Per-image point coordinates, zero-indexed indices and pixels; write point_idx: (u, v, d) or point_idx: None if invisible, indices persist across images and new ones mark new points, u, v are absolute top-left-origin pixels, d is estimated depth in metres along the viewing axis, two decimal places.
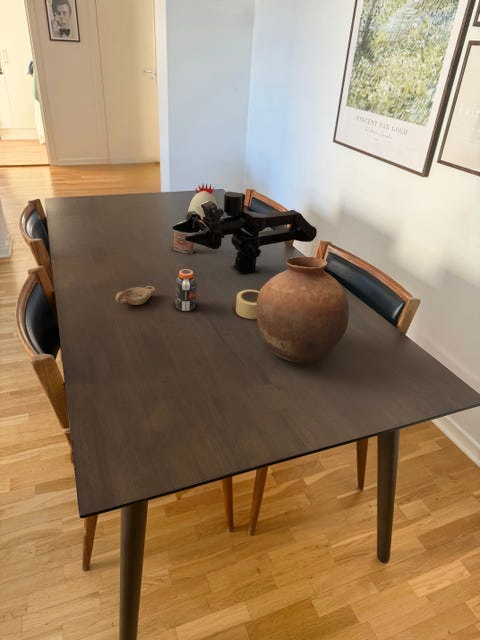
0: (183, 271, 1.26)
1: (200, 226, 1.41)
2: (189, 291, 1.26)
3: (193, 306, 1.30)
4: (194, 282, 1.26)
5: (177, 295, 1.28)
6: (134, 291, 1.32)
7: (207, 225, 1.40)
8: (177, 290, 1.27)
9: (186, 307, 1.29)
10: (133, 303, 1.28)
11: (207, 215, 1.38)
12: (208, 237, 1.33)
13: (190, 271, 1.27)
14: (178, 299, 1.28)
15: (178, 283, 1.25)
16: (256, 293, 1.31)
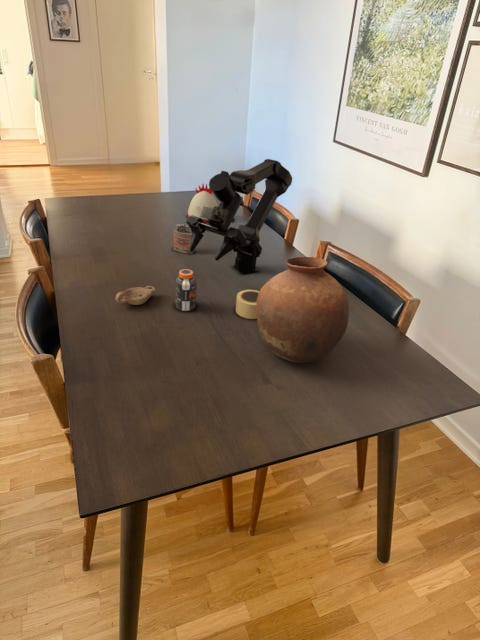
0: (183, 271, 1.26)
1: (210, 229, 1.32)
2: (189, 291, 1.26)
3: (193, 306, 1.30)
4: (194, 282, 1.26)
5: (177, 295, 1.28)
6: (134, 291, 1.32)
7: (216, 224, 1.31)
8: (177, 290, 1.27)
9: (186, 307, 1.29)
10: (133, 303, 1.28)
11: None
12: (233, 242, 1.28)
13: (190, 271, 1.27)
14: (178, 299, 1.28)
15: (178, 283, 1.25)
16: (256, 293, 1.31)
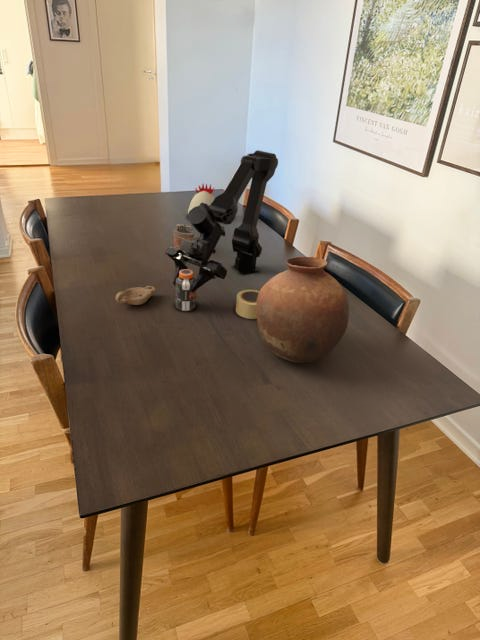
0: (183, 271, 1.26)
1: (190, 261, 1.29)
2: (189, 291, 1.26)
3: (193, 306, 1.30)
4: None
5: (177, 295, 1.28)
6: (134, 291, 1.32)
7: (196, 256, 1.28)
8: (178, 290, 1.27)
9: (186, 307, 1.29)
10: (133, 303, 1.28)
11: None
12: (208, 274, 1.25)
13: (190, 271, 1.26)
14: (178, 299, 1.28)
15: (178, 283, 1.25)
16: (256, 293, 1.31)
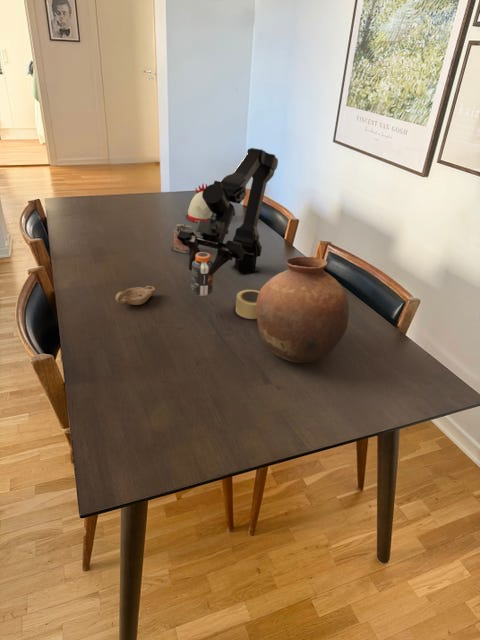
0: (200, 254, 1.20)
1: (204, 243, 1.23)
2: (208, 275, 1.21)
3: (211, 290, 1.25)
4: None
5: (194, 280, 1.22)
6: (134, 291, 1.32)
7: (210, 238, 1.23)
8: (195, 275, 1.21)
9: (204, 292, 1.23)
10: (133, 303, 1.28)
11: None
12: (226, 255, 1.21)
13: (206, 253, 1.21)
14: (196, 284, 1.22)
15: (196, 266, 1.20)
16: (256, 293, 1.31)
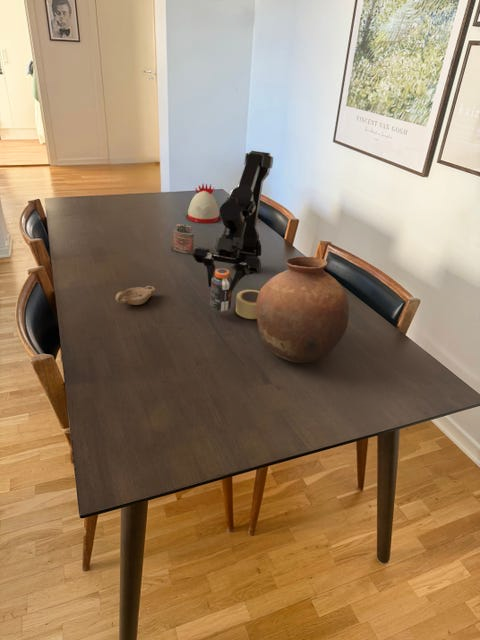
0: (219, 271, 1.21)
1: (220, 259, 1.24)
2: (229, 291, 1.22)
3: (230, 305, 1.26)
4: (231, 280, 1.22)
5: (215, 296, 1.22)
6: (134, 291, 1.32)
7: (226, 253, 1.24)
8: (216, 291, 1.21)
9: (225, 307, 1.24)
10: (133, 303, 1.28)
11: None
12: (245, 269, 1.22)
13: (225, 269, 1.22)
14: (217, 300, 1.23)
15: (217, 283, 1.20)
16: (256, 293, 1.31)
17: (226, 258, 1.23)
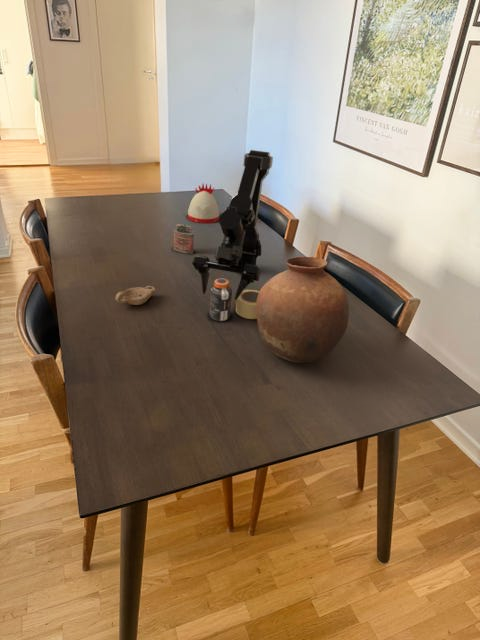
0: (219, 281, 1.22)
1: (220, 267, 1.25)
2: (228, 300, 1.24)
3: (229, 314, 1.27)
4: (231, 290, 1.24)
5: (215, 306, 1.24)
6: (134, 291, 1.32)
7: (226, 262, 1.25)
8: (216, 301, 1.23)
9: (224, 317, 1.26)
10: (133, 303, 1.28)
11: None
12: (249, 278, 1.23)
13: (225, 279, 1.24)
14: (216, 310, 1.24)
15: (217, 293, 1.22)
16: (256, 293, 1.31)
17: (225, 266, 1.24)
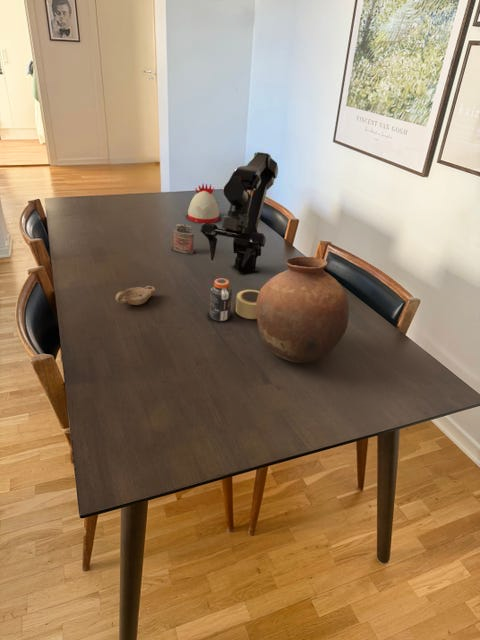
0: (219, 281, 1.22)
1: (227, 235, 1.30)
2: (228, 300, 1.24)
3: (229, 314, 1.27)
4: (231, 290, 1.24)
5: (215, 306, 1.24)
6: (134, 291, 1.32)
7: None
8: (216, 301, 1.23)
9: (224, 317, 1.26)
10: (133, 303, 1.28)
11: None
12: (255, 246, 1.29)
13: (225, 279, 1.24)
14: (216, 310, 1.24)
15: (217, 293, 1.22)
16: (256, 293, 1.31)
17: (232, 234, 1.29)
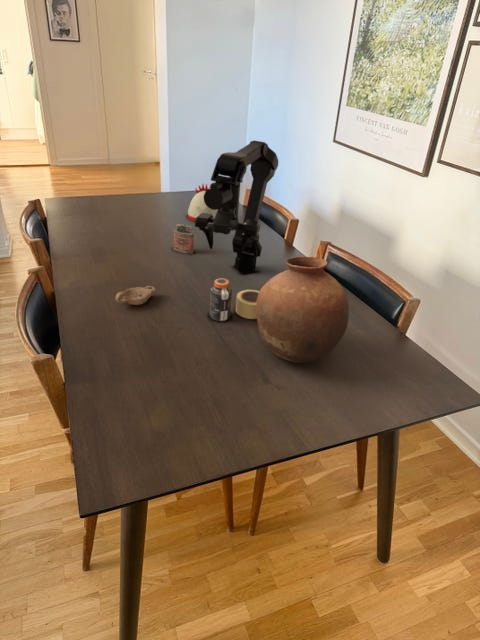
0: (219, 281, 1.22)
1: None
2: (228, 300, 1.24)
3: (229, 314, 1.27)
4: (231, 290, 1.24)
5: (215, 306, 1.24)
6: (134, 291, 1.32)
7: None
8: (216, 301, 1.23)
9: (224, 317, 1.26)
10: (133, 303, 1.28)
11: None
12: None
13: (225, 279, 1.24)
14: (216, 310, 1.24)
15: (217, 293, 1.22)
16: (256, 293, 1.31)
17: None
